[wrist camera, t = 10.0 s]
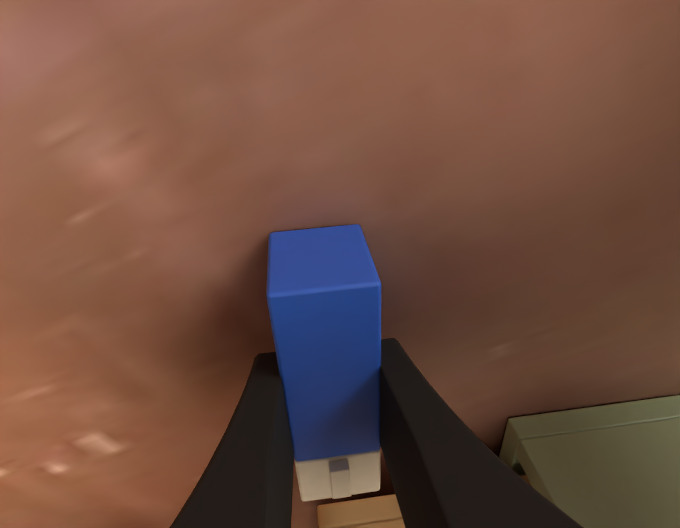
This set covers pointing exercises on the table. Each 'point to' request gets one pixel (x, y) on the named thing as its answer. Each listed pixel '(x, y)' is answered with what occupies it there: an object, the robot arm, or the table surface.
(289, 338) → the blue usb stick
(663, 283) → the table surface
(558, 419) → the cabinet
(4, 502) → the table surface
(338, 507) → the drawer
